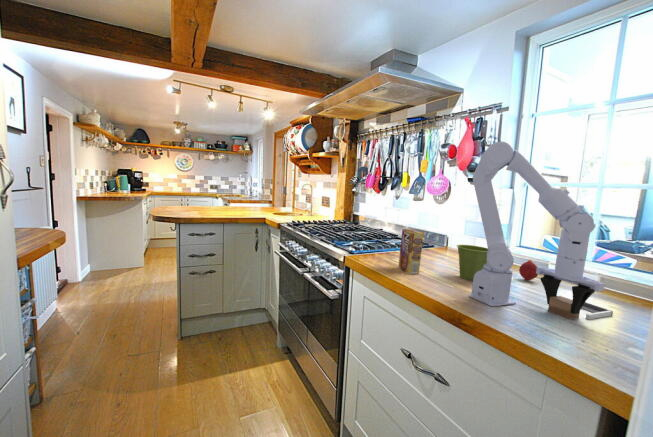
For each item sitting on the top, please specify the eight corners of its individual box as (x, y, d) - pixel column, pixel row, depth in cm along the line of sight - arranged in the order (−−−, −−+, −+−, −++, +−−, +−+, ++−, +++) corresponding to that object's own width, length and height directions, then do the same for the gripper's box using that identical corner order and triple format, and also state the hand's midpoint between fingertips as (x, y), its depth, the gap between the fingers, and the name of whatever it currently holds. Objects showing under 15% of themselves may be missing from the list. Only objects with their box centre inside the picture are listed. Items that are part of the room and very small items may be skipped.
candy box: (420, 274, 106) (424, 232, 104) (409, 274, 105) (413, 232, 103) (408, 267, 114) (411, 228, 113) (397, 267, 113) (401, 228, 112)
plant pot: (496, 285, 99) (501, 252, 98) (461, 282, 99) (465, 250, 98) (479, 274, 111) (483, 245, 110) (447, 272, 111) (451, 243, 110)
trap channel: (588, 319, 75) (589, 315, 75) (555, 307, 82) (556, 303, 82) (612, 315, 79) (612, 311, 79) (578, 304, 86) (579, 300, 86)
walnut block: (568, 319, 74) (570, 304, 74) (547, 311, 79) (550, 296, 78) (578, 317, 76) (581, 303, 75) (557, 309, 80) (560, 295, 80)
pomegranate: (540, 284, 104) (543, 262, 103) (522, 282, 105) (525, 260, 104) (532, 279, 110) (535, 258, 109) (515, 277, 111) (518, 256, 110)
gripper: (615, 264, 70) (605, 319, 72) (550, 251, 84) (543, 297, 85) (598, 265, 68) (588, 322, 69) (534, 251, 81) (527, 299, 82)
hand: (562, 308), depth 77 cm, fingers closed on walnut block, 5 cm apart
